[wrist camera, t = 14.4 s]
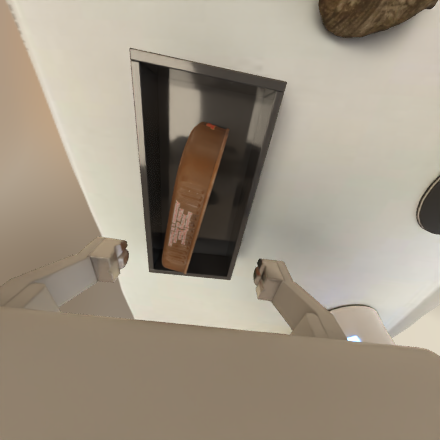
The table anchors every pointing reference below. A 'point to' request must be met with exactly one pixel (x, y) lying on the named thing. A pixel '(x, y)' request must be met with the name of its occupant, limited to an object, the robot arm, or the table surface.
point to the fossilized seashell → (368, 15)
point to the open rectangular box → (176, 140)
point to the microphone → (430, 208)
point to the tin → (192, 193)
